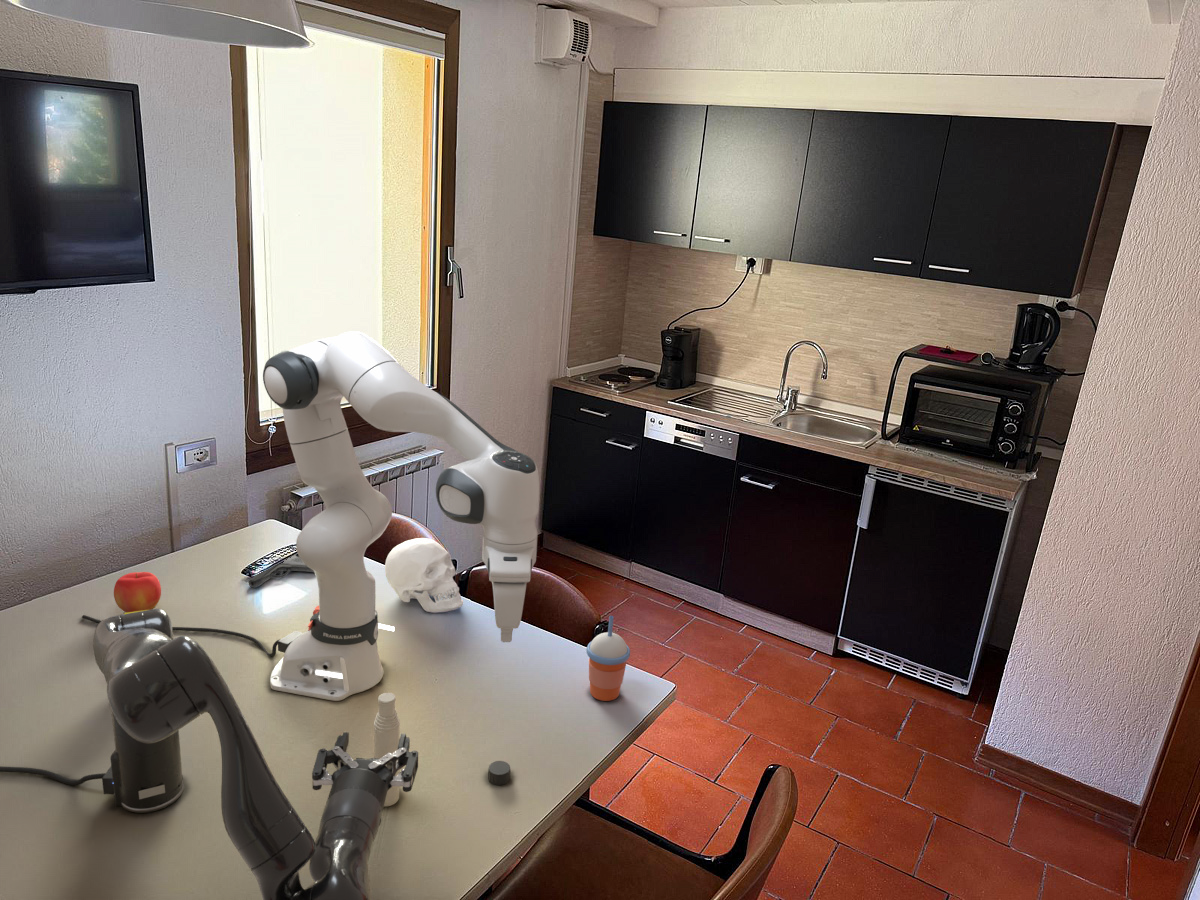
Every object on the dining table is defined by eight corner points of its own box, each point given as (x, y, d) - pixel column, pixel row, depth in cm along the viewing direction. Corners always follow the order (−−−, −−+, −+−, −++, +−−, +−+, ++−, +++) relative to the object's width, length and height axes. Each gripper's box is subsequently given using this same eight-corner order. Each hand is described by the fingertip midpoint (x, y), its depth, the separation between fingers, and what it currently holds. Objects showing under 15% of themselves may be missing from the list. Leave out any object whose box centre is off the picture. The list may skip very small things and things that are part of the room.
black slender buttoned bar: (292, 594, 211) (247, 586, 213) (325, 565, 228) (283, 558, 229) (291, 586, 211) (246, 578, 212) (325, 557, 227) (283, 550, 229)
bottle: (372, 791, 147) (372, 691, 141) (397, 788, 148) (398, 688, 142) (374, 808, 143) (374, 706, 137) (400, 804, 144) (401, 702, 138)
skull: (448, 622, 203) (451, 561, 199) (372, 599, 211) (374, 540, 207) (477, 602, 215) (480, 543, 211) (405, 581, 223) (406, 524, 219)
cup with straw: (621, 709, 175) (629, 631, 170) (578, 700, 177) (585, 623, 172) (629, 685, 184) (636, 610, 179) (588, 677, 185) (594, 603, 180)
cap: (510, 785, 151) (510, 774, 150) (488, 785, 151) (488, 775, 150) (509, 770, 155) (510, 760, 154) (488, 771, 154) (488, 760, 154)
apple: (166, 618, 196) (163, 578, 193) (118, 627, 190) (114, 586, 187) (159, 600, 203) (156, 561, 200) (113, 608, 198) (109, 569, 195)
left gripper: (407, 790, 113) (423, 717, 129) (297, 788, 112) (326, 715, 127) (406, 836, 116) (422, 759, 131) (298, 835, 114) (327, 757, 130)
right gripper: (490, 525, 149) (487, 596, 153) (489, 577, 129) (486, 657, 134) (527, 526, 150) (523, 597, 154) (531, 577, 130) (526, 657, 134)
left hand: (374, 737), depth 129 cm, fingers open, 8 cm apart
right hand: (506, 625), depth 144 cm, fingers open, 8 cm apart
